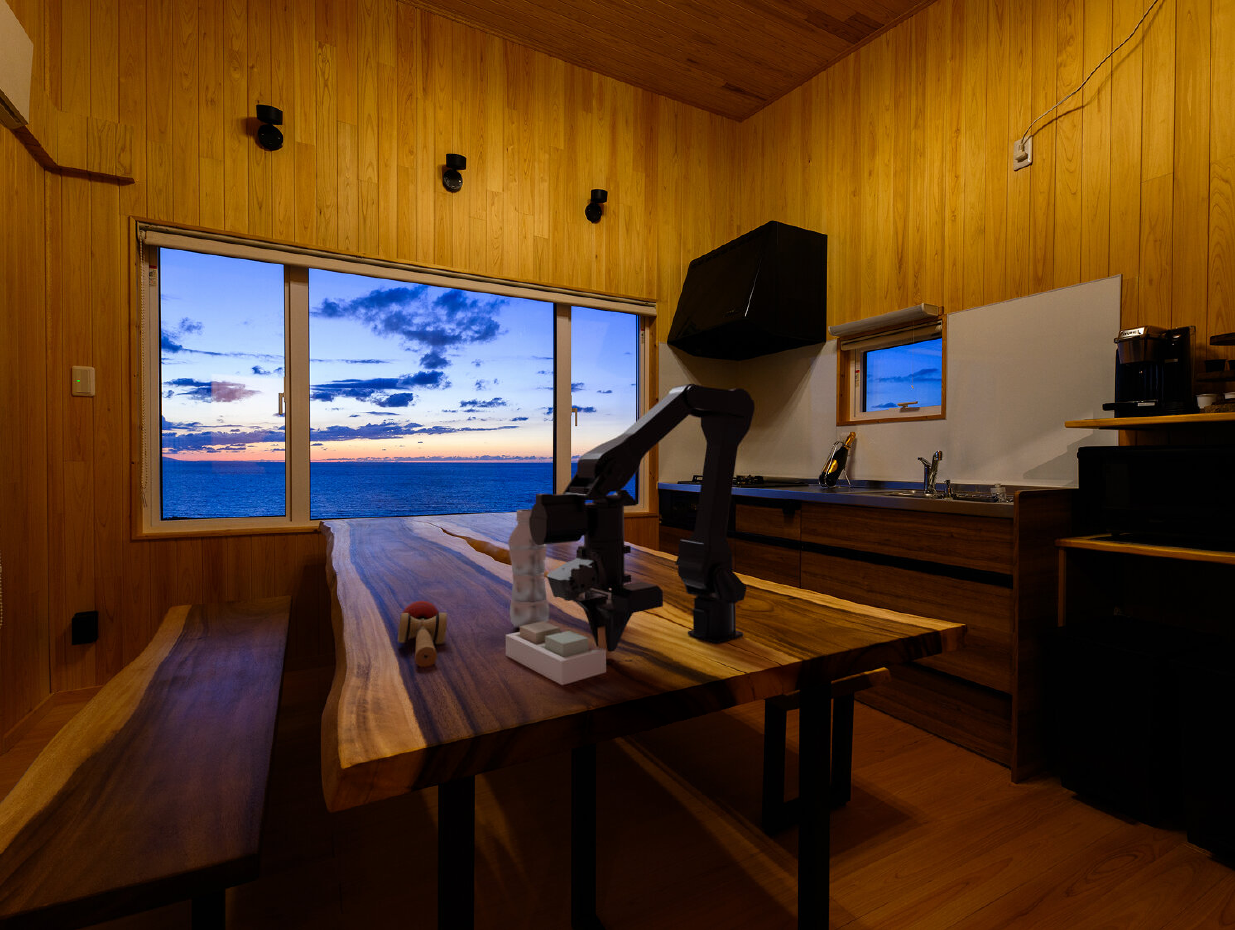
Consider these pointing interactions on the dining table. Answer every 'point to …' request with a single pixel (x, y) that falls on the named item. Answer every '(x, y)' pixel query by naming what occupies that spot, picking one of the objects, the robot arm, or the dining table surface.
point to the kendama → (423, 630)
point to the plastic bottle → (527, 575)
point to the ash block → (538, 632)
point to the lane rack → (555, 660)
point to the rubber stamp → (574, 643)
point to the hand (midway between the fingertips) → (605, 648)
